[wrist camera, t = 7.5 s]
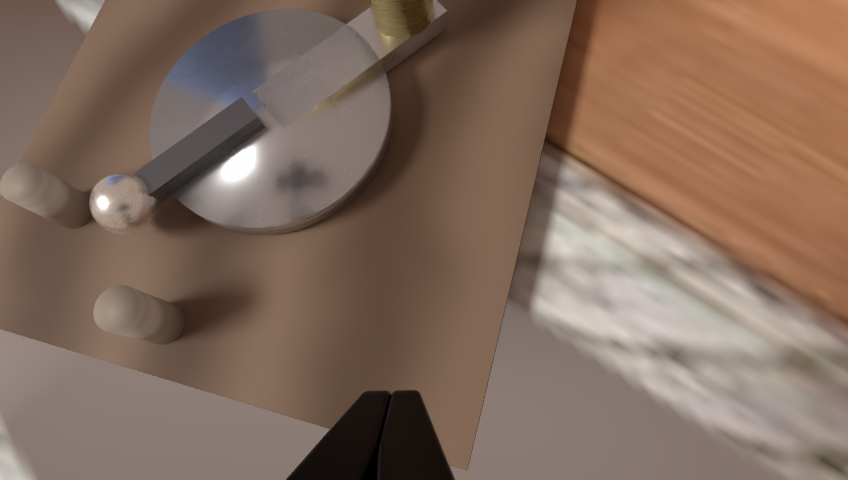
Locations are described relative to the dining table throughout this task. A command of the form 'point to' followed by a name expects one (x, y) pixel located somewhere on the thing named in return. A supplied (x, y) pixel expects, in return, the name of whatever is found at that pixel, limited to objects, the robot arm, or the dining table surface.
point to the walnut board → (300, 249)
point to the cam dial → (272, 119)
